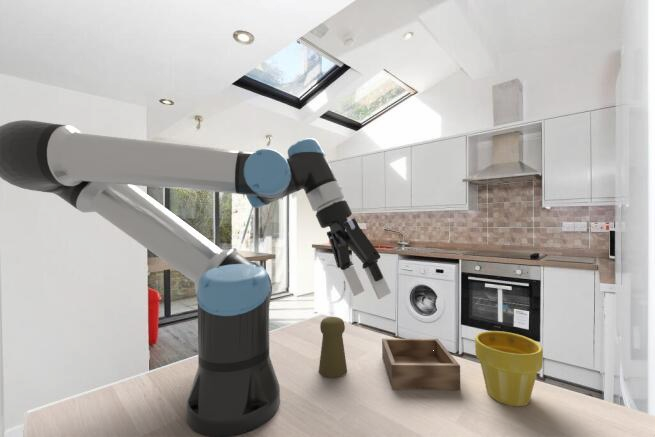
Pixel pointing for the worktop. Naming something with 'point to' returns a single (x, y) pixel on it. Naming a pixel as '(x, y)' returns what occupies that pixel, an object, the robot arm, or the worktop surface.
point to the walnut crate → (420, 364)
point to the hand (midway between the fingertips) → (370, 294)
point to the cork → (332, 348)
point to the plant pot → (508, 365)
